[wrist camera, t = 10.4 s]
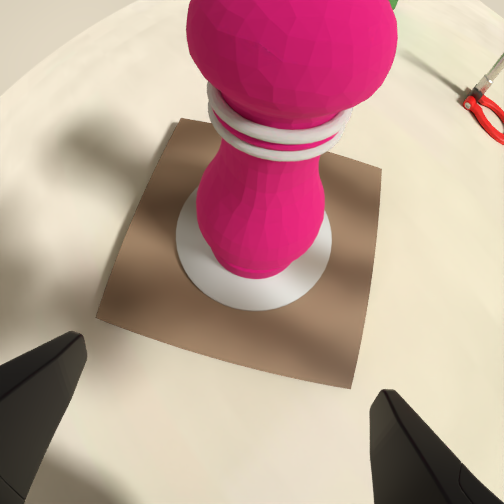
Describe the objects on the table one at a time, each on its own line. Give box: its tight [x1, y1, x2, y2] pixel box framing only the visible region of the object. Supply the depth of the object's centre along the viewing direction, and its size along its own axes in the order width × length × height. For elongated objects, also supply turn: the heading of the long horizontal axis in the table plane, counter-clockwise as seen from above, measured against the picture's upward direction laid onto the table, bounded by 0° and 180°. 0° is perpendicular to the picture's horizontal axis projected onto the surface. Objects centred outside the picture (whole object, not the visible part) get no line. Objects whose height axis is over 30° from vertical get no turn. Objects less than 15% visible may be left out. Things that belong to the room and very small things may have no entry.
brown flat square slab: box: [96, 118, 382, 389], centre depth 23 cm, size 18×18×2 cm
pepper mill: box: [186, 0, 398, 279], centre depth 13 cm, size 7×7×20 cm
